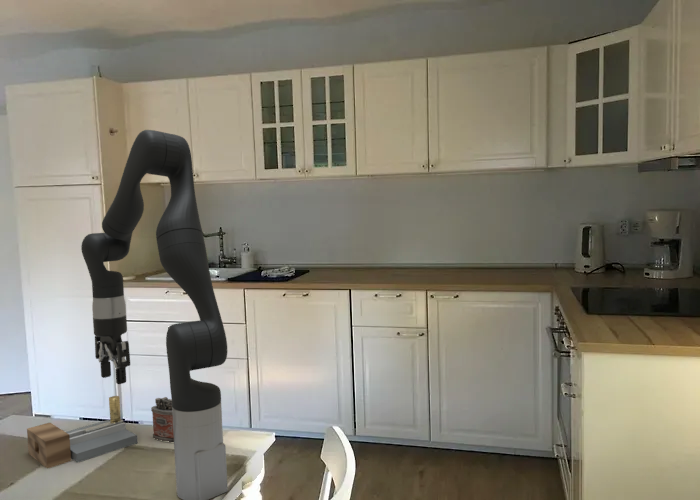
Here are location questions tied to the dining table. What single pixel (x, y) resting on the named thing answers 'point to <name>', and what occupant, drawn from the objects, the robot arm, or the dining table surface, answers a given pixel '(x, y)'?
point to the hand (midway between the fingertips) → (113, 380)
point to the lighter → (163, 419)
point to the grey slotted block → (99, 441)
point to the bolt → (114, 415)
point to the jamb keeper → (49, 445)
